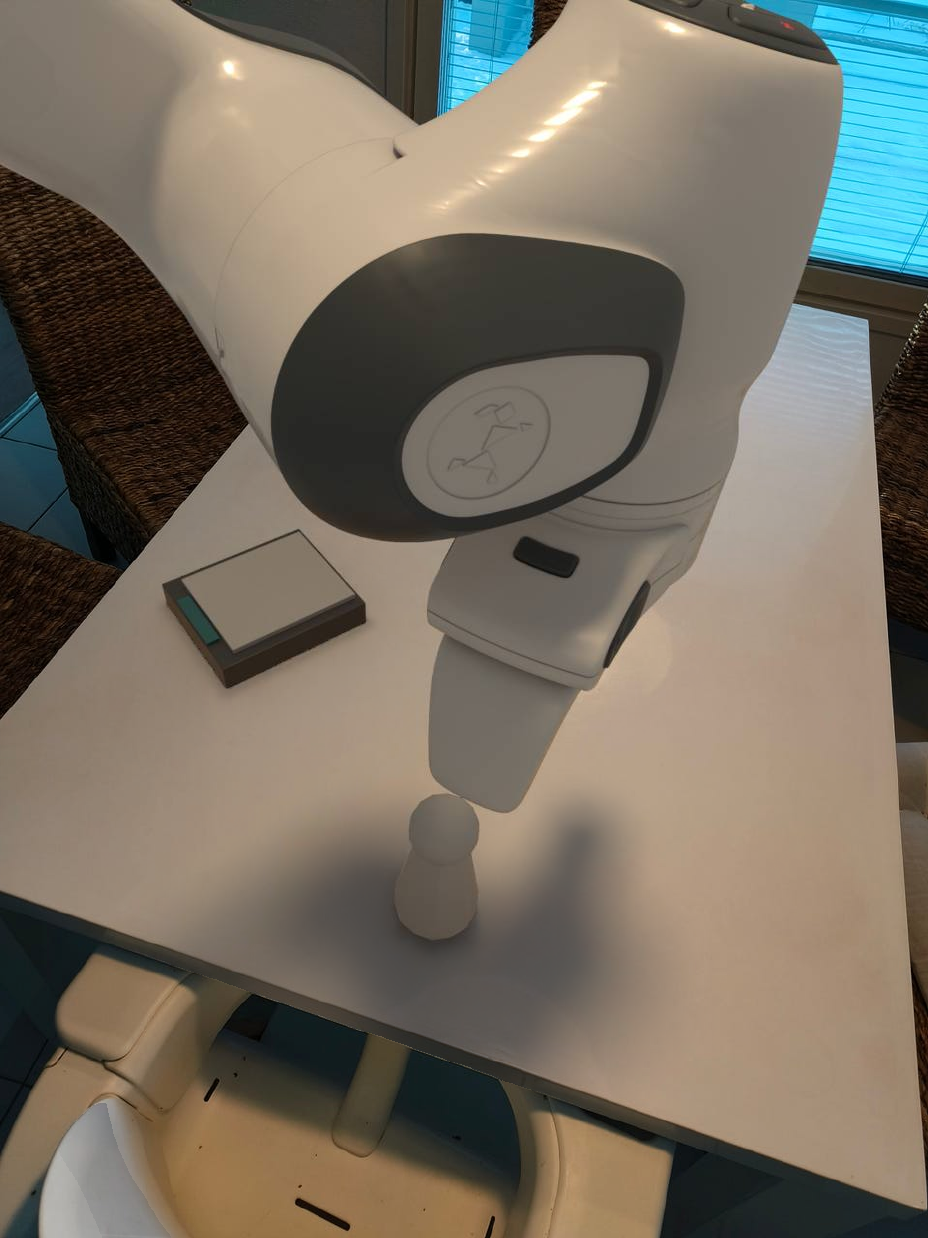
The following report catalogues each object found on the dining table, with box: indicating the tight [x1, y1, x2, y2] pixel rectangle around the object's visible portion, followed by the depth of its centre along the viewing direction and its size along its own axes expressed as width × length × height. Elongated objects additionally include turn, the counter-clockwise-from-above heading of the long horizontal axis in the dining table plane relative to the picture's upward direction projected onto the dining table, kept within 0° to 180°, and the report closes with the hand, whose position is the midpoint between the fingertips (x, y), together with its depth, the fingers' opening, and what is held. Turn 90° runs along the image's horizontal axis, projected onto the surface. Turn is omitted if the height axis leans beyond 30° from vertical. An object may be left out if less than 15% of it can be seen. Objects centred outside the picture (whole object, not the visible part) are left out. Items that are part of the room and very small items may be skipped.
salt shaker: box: [393, 792, 480, 941], centre depth 55 cm, size 6×6×13 cm
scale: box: [161, 528, 367, 689], centre depth 77 cm, size 14×12×3 cm
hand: (546, 704), depth 43 cm, fingers open, 8 cm apart
